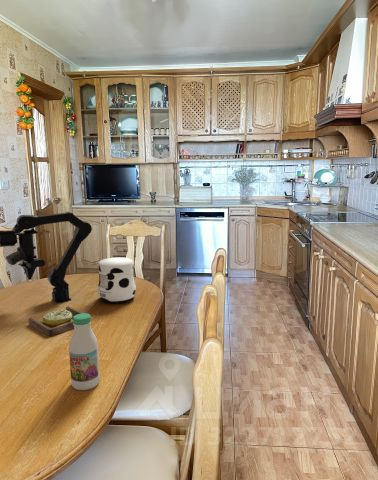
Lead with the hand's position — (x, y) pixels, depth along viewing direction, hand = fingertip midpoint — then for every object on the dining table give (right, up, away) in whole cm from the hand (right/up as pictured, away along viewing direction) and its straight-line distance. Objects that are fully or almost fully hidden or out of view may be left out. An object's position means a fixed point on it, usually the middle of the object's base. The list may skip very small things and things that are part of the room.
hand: (29, 279), depth 159 cm
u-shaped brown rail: (+19, -15, -16) cm, 29 cm away
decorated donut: (+18, -15, -15) cm, 28 cm away
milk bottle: (+41, -23, -57) cm, 74 cm away
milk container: (+36, -10, +11) cm, 39 cm away
